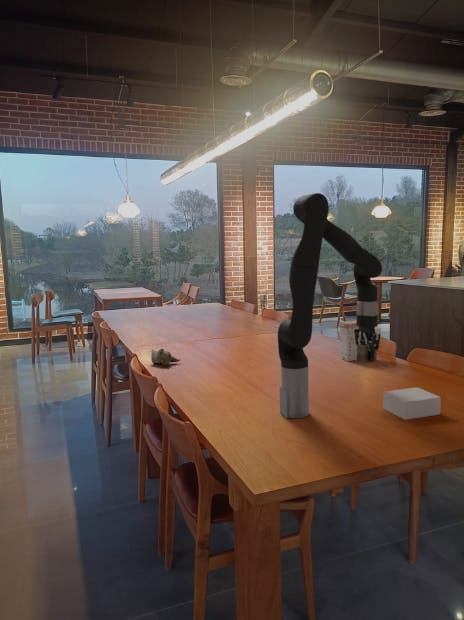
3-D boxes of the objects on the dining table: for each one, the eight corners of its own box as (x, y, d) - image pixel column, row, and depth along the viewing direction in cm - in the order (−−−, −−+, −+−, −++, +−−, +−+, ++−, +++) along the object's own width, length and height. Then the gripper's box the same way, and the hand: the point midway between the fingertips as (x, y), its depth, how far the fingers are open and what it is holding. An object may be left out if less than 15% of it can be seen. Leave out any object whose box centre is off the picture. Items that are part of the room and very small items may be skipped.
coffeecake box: (364, 355, 244) (365, 318, 241) (373, 358, 237) (373, 320, 234) (339, 358, 239) (339, 321, 237) (347, 361, 232) (347, 323, 230)
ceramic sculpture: (158, 344, 247) (181, 348, 239) (158, 360, 248) (181, 365, 241) (145, 349, 238) (167, 353, 230) (145, 365, 239) (168, 370, 232)
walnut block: (364, 363, 168) (364, 346, 168) (356, 360, 173) (357, 344, 172) (376, 361, 170) (376, 345, 169) (368, 359, 174) (368, 343, 174)
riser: (404, 419, 154) (404, 402, 153) (383, 408, 165) (383, 391, 164) (440, 414, 157) (440, 397, 157) (416, 403, 169) (417, 387, 168)
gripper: (347, 311, 175) (347, 356, 177) (369, 316, 161) (368, 364, 163) (365, 310, 177) (364, 354, 179) (387, 315, 163) (387, 362, 165)
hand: (366, 358), depth 171 cm, fingers closed on walnut block, 5 cm apart
